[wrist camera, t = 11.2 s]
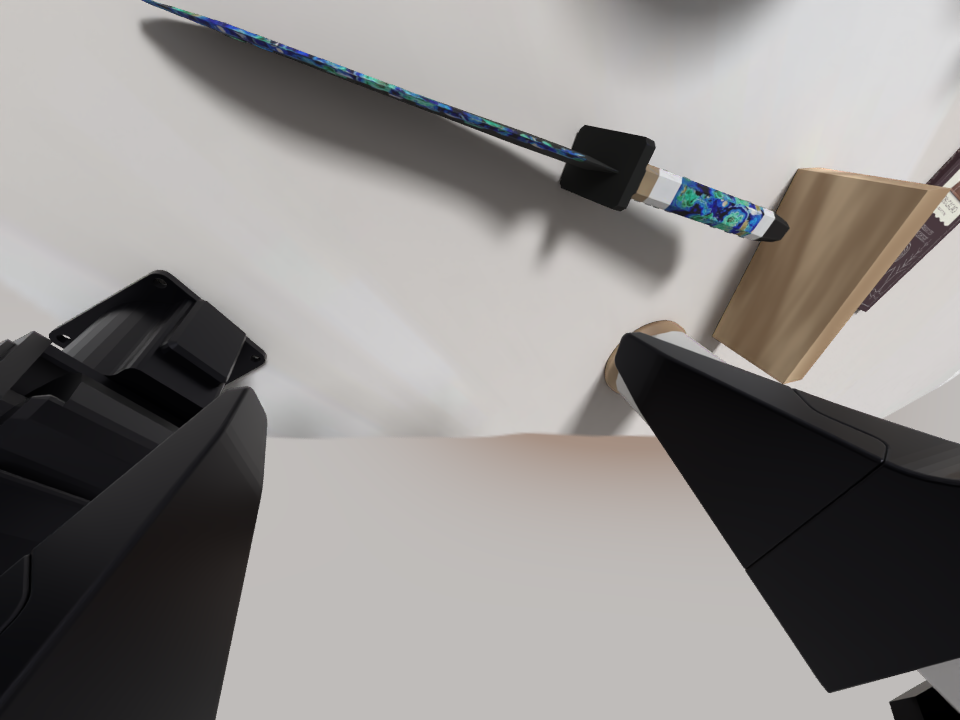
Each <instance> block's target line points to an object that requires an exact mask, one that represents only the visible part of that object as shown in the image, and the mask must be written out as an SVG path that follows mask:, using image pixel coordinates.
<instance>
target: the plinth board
mask: <svg viewBox="0 0 960 720" xmlns="http://www.w3.org/2000/svg"><path fill="white" fill-rule="evenodd" d="M951 189H952V188H946V187H940V186H934V185H927V184H921V183H914V182H908V181H902V180H895V179H889V178H882V177H876V176H870V175H863V174H857V173H850V172H844V171H838V170H831V169H825V168H805V169H798V171H797V173H796V174H795V176H794V178H793V180H792V182H791V184H790V186H789V188H788V190H787V192H786V194H785V196H784V198H783V200H782V202H781V204H780V206H779V207H778V209H777V211H776V214H777V215H778V216H780V217H781V218H782V219H784V220H785V221H786V222H787V223H788V225H789V227H790V229H789V230H788V231H787V233H786V234H785V235H784V237H783V238H782V239H781V240H779V241H774V242H764V241H761V242H760V244H759V246H758V248H757V250H756V252H755V254H754V256H753V258H752V260H751V262H750V264H749V266H748V268H747V270H746V272H745V273H744V275H743V277H742V279H741V281H740V283H739V285H738V287H737V289H736V291H735V293H734V295H733V297H732V299H731V301H730V303H729V304H728V306H727V308H726V310H725V312H724V314H723V316H722V318H721V320H720V322H719V324H718V326H717V328H716V330H715V332H714V334H713V336H712V337H713V338H715V339H716V340H718V341H719V342H721V343H722V344H724V345H725V346H727V347H728V348H730V349H731V350H733V351H734V352H736V353H737V354H739V355H740V356H742V357H743V358H745V359H746V360H748V361H749V362H751V363H752V364H754V365H755V366H757V367H758V368H760V369H761V370H763V371H764V372H766V373H767V374H769V375H770V376H772V377H773V378H775V379H776V380H778V381H779V382H781V383H782V384H786V383H790V382H794V381H798V380H801V379H802V378H803V377H804V376H805V375H806V373H807V372H808V371H809V369H810V368H811V367H812V366H813V364H814V363H815V362H816V361H817V359H818V358H819V357H820V355H821V354H822V353H823V352H824V350H825V349H826V348H827V347H828V345H829V344H830V343H831V341H832V340H833V339H834V338H835V336H836V335H837V334H838V333H839V331H840V330H841V329H842V327H843V326H844V325H845V324H846V322H847V321H848V320H849V319H850V317H851V316H852V315H853V313H854V312H855V311H856V310H857V308H858V307H859V306H860V305H861V303H862V302H863V301H864V299H865V298H866V297H867V296H868V294H869V293H870V292H871V291H872V289H873V288H874V287H875V285H876V284H877V283H878V282H879V280H880V279H881V278H882V277H883V275H884V274H885V273H886V271H887V270H888V269H889V268H890V266H891V265H892V264H893V263H894V261H895V260H896V259H897V258H898V256H899V255H900V254H901V252H902V251H903V250H904V249H905V247H906V246H907V245H908V244H909V242H910V241H911V240H912V238H913V237H914V236H915V235H916V233H917V232H918V231H919V230H920V228H921V227H922V226H923V224H924V223H925V222H926V221H927V219H928V218H929V217H930V216H931V214H932V213H933V212H934V210H935V209H936V208H937V207H938V205H939V204H940V203H941V202H942V200H943V199H944V198H945V196H946V195H947V194H948V193H949V191H950V190H951Z"/></svg>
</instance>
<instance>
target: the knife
mask: <svg viewBox="0 0 960 720" xmlns="http://www.w3.org/2000/svg"><path fill="white" fill-rule="evenodd" d="M142 1H144V2H146V3H149V4H151V5H153V6H156V7H158V8H161V9H164V10H166V11H169V12H171V13H174V14H176V15H178V16H181V17H184V18H187V19H189V20H192V21H194V22H196V23H199V24H201V25H204V26H206V27H209V28H211V29H214V30H216V31H219V32H221V33H223V34H224V35H226V36H228V37H231V38H234V39H237V40H239V41H242V42H245V43H246V42H248V43H250V44H253V45H255V46H257V47H259V48H262V49H265V50H267V51H270V52H274V53H277V54H279V55H282V56H285V57H287V58H290V59H293V60H295V61H298V62H300V63H303V64H306V65H308V66H311V67H313V68H316V69H319V70H321V71H324V72H327V73H329V74H332V75H334V76H337V77H340V78H342V79H345V80H347V81H350V82H353V83H355V84H358V85H361V86H363V87H366V88H368V89H371V90H374V91H376V92H379V93H382V94H384V95H387V96H389V97H392V98H395V99H397V100H400V101H402V102H405V103H408V104H410V105H413V106H416V107H418V108H421V109H423V110H426V111H429V112H431V113H434V114H437V115H439V116H442V117H445V118H447V119H450V120H452V121H455V122H458V123H460V124H463V125H466V126H468V127H471V128H473V129H476V130H479V131H481V132H484V133H487V134H489V135H492V136H494V137H497V138H500V139H502V140H505V141H508V142H510V143H513V144H516V145H518V146H521V147H524V148H527V149H529V150H532V151H535V152H538V153H541V154H543V155H546V156H549V157H552V158H555V159H557V160H560V161H563V162H566V163H567V165H566V168H565V170H564V173H563V176H562V178H561V181H560V185H561V188H563V189H565V190H567V191H570V192H572V193H575V194H577V195H580V196H582V197H584V198H587V199H589V200H592V201H594V202H596V203H599V204H601V205H604V206H606V207H609V208H611V209H614V210H617V211H622V210H624V209H626V208H627V206H628V204H629V202H630V200H631V199H634V201H637V202H643V203H645V204H646V205H650V206H651V205H652V206H653V207H655V208H658V209H659V208H660V209H663V210H664V211H666V212H670V213H671V212H672V213H675V214H678V215H681V216H684V217H686V218H689V219H692V220H695V221H698V222H701V223H704V224H707V225H710V227H713V228H718V229H721V230H724V232H727V233H733V234H736V235H738V236H739V237H742V238H747V239H750V240H754V241H764V242H774V241H779V240H781V239H782V238H783V237H784V235H785V234H786V233H787V231H788V230H789V229H790V227H789V225H788V223H787V222H786V221H785V220H784V219H782V218H781V217H780V216H778V215H777V214H776V213H775V212H773V211H770V210H768V209H765V207H762V206H757V205H755V204H752V203H751V202H749V201H744V200H741V199H739V198H736V197H733V196H731V195H728V194H726V193H723V192H720V191H718V190H715V189H712V188H710V187H707V186H704V185H702V184H699V183H697V182H694V181H691V180H690V179H688V178H686V177H681V176H678V175H675V174H673V173H670V172H669V171H667V170H664V169H660V168H657V167H654V166H652V165H649V164H648V163H649V161H650V159H651V157H652V155H653V153H654V150H655V148H656V147H655V143H654V141H653V140H651V139H649V138H647V137H643V136H638V135H633V134H628V133H623V132H618V131H613V130H608V129H603V128H598V127H593V126H588V125H584V126H583V127H582V128H581V129H580V130H579V133H578V136H577V138H576V141H575V144H574V146H573V149H572V150H571V149H569V148H566V147H564V146H561V145H558V144H556V143H553V142H550V141H548V140H545V139H542V138H539V137H537V136H534V135H531V134H529V133H526V132H523V131H520V130H517V129H514V128H512V127H509V126H506V125H503V124H500V123H497V122H494V121H492V120H489V119H486V118H483V117H480V116H477V115H474V114H472V113H469V112H466V111H463V110H460V109H457V108H454V107H452V106H449V105H446V104H443V103H440V102H437V101H435V100H432V99H429V98H426V97H424V96H421V95H418V94H415V93H412V92H409V91H407V90H404V89H403V88H400V87H397V86H394V85H391V84H388V83H385V82H382V81H380V80H377V79H374V78H372V77H369V76H366V75H364V74H361V73H358V72H356V71H353V70H350V69H348V68H345V67H342V66H340V65H337V64H334V63H332V62H329V61H327V60H324V59H321V58H318V57H315V56H313V55H310V54H307V53H304V52H302V51H299V50H296V49H294V48H291V47H288V46H286V45H283V44H280V43H278V42H275V41H272V40H270V39H267V38H264V37H262V36H259V35H257V34H253V33H250V32H247V31H245V30H243V29H240V28H237V27H234V26H232V25H229V24H227V23H223V22H220V21H217V20H213V19H210V18H207V17H204V16H201V15H198V14H195V13H191V12H187V11H184V10H181V9H178V8H175V7H172V6H168V5H164V4H160V3H157V2H154V1H152V0H142Z"/></svg>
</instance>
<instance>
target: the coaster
mask: <svg viewBox="0 0 960 720" xmlns="http://www.w3.org/2000/svg"><path fill="white" fill-rule="evenodd" d="M671 331H678V332H683V333H685V334H686V332H685V330H684V329H683V328H682V327H681V326H679V325H678V324H676V323H675V322H672V321H667V320H662V321H656V322H652V323H649V324H647V325H644V326H642V327H640V328H639V329H637V330H635V331H634V332H642V333H645V334H647V335H650V336H653V335H657V334H662V333H667V332H671ZM618 347H619V345H618V346H617V347H616V349H615V350H614V351H613V353H612V354H611V356H610V358H609V360H608V362H607V365H606V368H605V380H606V383H607V384H608V386H609V387H610V388H611V389H612V390H613V391H614V392H616V393H619V392H618V390H617V385H616V380H617V377H618V370H617V368H616V366H615V361H614V359H615V355H616V352H617V349H618ZM619 394H620V393H619Z"/></svg>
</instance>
